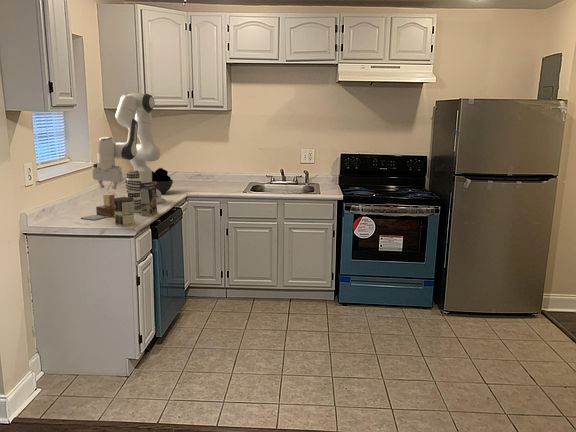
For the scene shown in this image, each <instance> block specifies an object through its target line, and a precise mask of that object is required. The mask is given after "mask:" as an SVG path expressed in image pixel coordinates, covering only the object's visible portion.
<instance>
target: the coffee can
mask: <svg viewBox="0 0 576 432" xmlns="http://www.w3.org/2000/svg"><path fill="white" fill-rule="evenodd" d="M114 207H115V216H114V222H115V223H114V225H115V226H119V227H127V226H128V227H129V226H133V225H135V224H136V223H135V212H134V198H131V197H128V196H122V197H121V196H120V197H115V199H114Z"/></svg>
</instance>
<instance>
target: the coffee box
mask: <svg viewBox="0 0 576 432" xmlns="http://www.w3.org/2000/svg"><path fill="white" fill-rule="evenodd" d="M140 213H141V216H143V217H144V216H145V217H152V216H153V215H156V214H158V203H157V195H156V187H145V188H142V189H141V211H140Z"/></svg>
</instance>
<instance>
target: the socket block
mask: <svg viewBox="0 0 576 432" xmlns="http://www.w3.org/2000/svg"><path fill="white" fill-rule="evenodd" d="M95 208H96V215H101V216H107V217H106V218H108V217H109V218H111V217H115V207H104V204H103V205H99V206H96V207H95Z"/></svg>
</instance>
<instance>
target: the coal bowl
mask: <svg viewBox="0 0 576 432" xmlns="http://www.w3.org/2000/svg"><path fill="white" fill-rule="evenodd" d="M151 171H152V182H157V184H156V185H155V184H154V187H156V189H157V190H159V191H160V192H161V194H164V193H167V192H168V191H169V190H170V189H171V188H172V186H173V183H174V180H173V178H171V176H169V175H168V170H166V169H164V168H163V167H158V168H157V169H156V170H155V171H153V170H151Z"/></svg>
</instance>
